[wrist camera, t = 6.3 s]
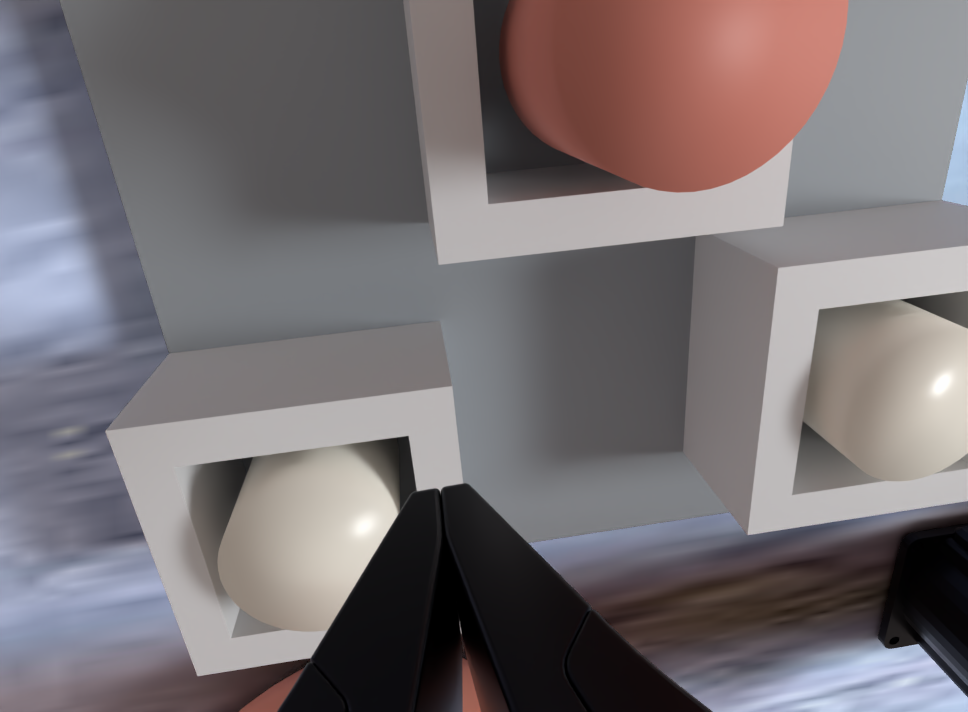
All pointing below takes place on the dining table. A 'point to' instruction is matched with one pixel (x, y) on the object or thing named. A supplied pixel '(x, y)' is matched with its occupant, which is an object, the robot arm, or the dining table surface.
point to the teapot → (269, 702)
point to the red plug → (670, 81)
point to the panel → (494, 277)
